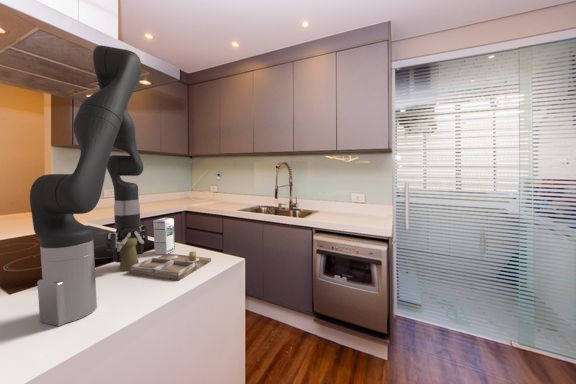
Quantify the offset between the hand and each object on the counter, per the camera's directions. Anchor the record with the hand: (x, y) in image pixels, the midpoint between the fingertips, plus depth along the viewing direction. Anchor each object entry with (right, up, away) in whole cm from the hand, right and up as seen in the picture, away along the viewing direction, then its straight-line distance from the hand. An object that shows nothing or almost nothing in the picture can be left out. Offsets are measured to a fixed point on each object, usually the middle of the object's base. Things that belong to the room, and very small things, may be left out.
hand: (129, 257), depth 86 cm
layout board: (+15, -4, +1) cm, 15 cm away
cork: (0, -4, 0) cm, 4 cm away
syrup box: (+4, -3, +18) cm, 18 cm away
